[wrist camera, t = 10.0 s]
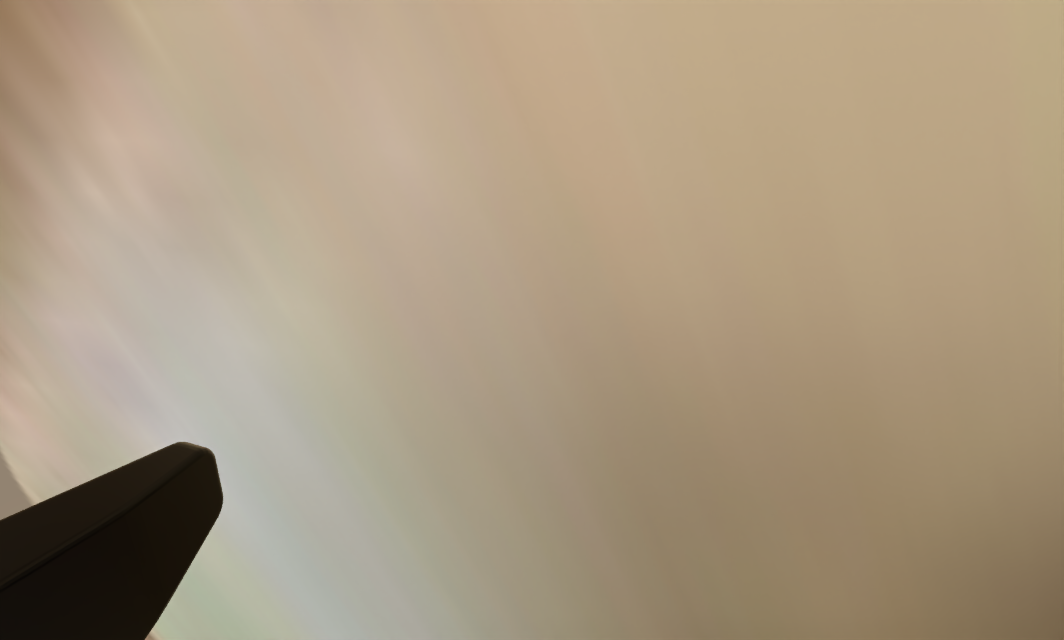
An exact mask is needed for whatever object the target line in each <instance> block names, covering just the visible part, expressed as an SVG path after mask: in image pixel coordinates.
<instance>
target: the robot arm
mask: <svg viewBox="0 0 1064 640" xmlns="http://www.w3.org/2000/svg"><path fill="white" fill-rule="evenodd" d="M222 504H223V492H222V487H221V483H220V478H219V473H218V469H217V464H216V459H215V456H214V454H213V452H212V451H211V450H210V449H208V448H205V447H202V446H198V445H195V444H191V443H188V442H178V443H175V444H172V445H170V446H167V447H165V448H163V449H161V450H158V451H156V452H154V453H151V454H149V455H147V456H145V457H142V458H140V459H138V460H136V461H133V462H131V463H129V464H127V465H124V466H122V467H120V468H117V469H115V470H113V471H111V472H108V473H106V474H104V475H102V476H99V477H97V478H95V479H93V480H90V481H88V482H86V483H84V484H81V485H79V486H77V487H74V488H72V489H70V490H68V491H65V492H63V493H61V494H59V495H56V496H54V497H52V498H50V499H47V500H45V501H43V502H40V503H38V504H36V505H34V506H31V507H29V508H27V509H25V510H22V511H20V512H18V513H16V514H14V515H11V516H9V517H7V518H4V519H2V520H0V640H145V638H146V637H147V635H148V634H149V632H150V631H151V629H152V628H153V627H154V625H155V624H156V622H157V621H158V619H159V617H160V616H161V614H162V613H163V611H164V609H165V608H166V606H167V605H168V603H169V601H170V599H171V598H172V596H173V594H174V593H175V591H176V589H177V587H178V586H179V584H180V582H181V580H182V579H183V577H184V575H185V574H186V572H187V570H188V568H189V567H190V565H191V563H192V561H193V560H194V558H195V556H196V554H197V553H198V551H199V549H200V548H201V546H202V544H203V542H204V541H205V539H206V537H207V535H208V534H209V532H210V530H211V529H212V527H213V525H214V523H215V522H216V520H217V518H218V516H219V514H220V511H221V509H222Z"/></svg>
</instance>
